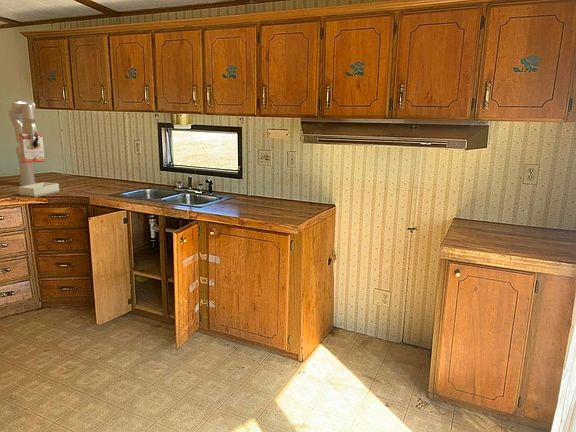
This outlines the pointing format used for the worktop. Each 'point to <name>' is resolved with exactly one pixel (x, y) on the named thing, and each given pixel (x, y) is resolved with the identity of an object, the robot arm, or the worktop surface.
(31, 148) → the cracker box
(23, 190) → the bin
